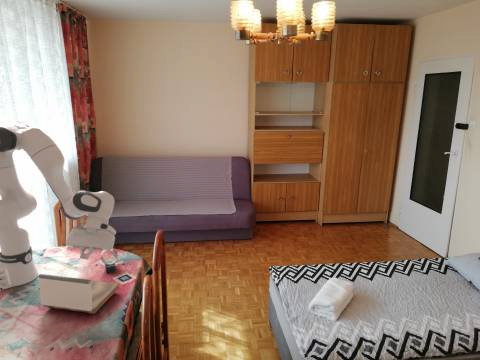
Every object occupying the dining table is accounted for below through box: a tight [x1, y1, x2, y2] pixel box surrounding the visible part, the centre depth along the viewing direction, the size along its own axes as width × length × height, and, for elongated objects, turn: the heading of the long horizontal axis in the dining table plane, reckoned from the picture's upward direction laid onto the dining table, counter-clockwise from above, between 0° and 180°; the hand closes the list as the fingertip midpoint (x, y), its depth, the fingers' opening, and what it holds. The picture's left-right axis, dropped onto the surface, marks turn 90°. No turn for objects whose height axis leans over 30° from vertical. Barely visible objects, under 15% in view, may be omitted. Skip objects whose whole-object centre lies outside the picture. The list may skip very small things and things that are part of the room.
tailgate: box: [38, 273, 92, 311], centre depth 129 cm, size 21×2×12 cm, turn 80°
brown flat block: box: [43, 280, 120, 315], centre depth 140 cm, size 22×18×4 cm
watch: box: [100, 247, 119, 274], centre depth 165 cm, size 6×8×11 cm
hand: (83, 258), depth 139 cm, fingers closed
